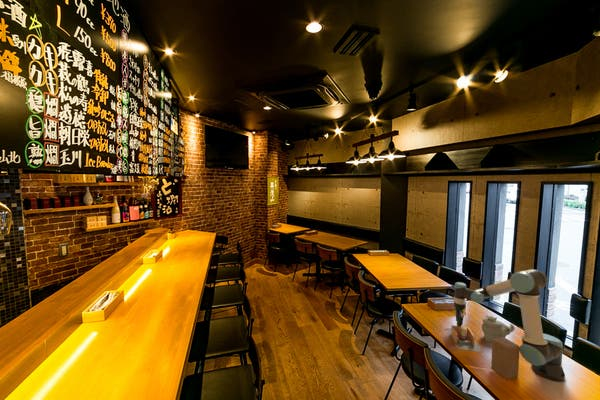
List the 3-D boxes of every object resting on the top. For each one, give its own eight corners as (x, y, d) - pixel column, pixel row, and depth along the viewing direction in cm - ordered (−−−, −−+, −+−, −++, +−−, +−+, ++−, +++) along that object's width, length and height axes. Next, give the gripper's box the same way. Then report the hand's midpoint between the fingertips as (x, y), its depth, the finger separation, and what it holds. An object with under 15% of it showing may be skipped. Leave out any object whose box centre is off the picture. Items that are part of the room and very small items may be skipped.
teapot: (514, 344, 187) (515, 320, 185) (503, 350, 180) (504, 325, 179) (489, 333, 201) (490, 310, 200) (478, 338, 195) (479, 314, 194)
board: (482, 353, 177) (482, 352, 177) (456, 349, 182) (456, 348, 182) (468, 332, 203) (468, 330, 203) (446, 328, 207) (446, 327, 207)
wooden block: (506, 380, 153) (508, 348, 152) (490, 368, 162) (491, 338, 161) (518, 377, 156) (520, 345, 154) (502, 365, 165) (503, 336, 164)
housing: (474, 346, 183) (474, 336, 183) (455, 343, 187) (455, 333, 186) (468, 336, 195) (469, 327, 194) (451, 333, 198) (451, 325, 198)
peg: (466, 342, 188) (468, 329, 187) (461, 341, 188) (462, 328, 188) (464, 339, 192) (465, 326, 191) (458, 338, 192) (459, 325, 192)
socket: (470, 344, 185) (470, 342, 185) (458, 343, 187) (458, 340, 187) (466, 338, 193) (467, 336, 193) (454, 336, 195) (455, 334, 195)
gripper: (468, 307, 190) (467, 337, 192) (462, 299, 203) (461, 328, 204) (456, 305, 193) (455, 335, 194) (451, 298, 205) (451, 326, 207)
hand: (458, 331), depth 199 cm, fingers closed
